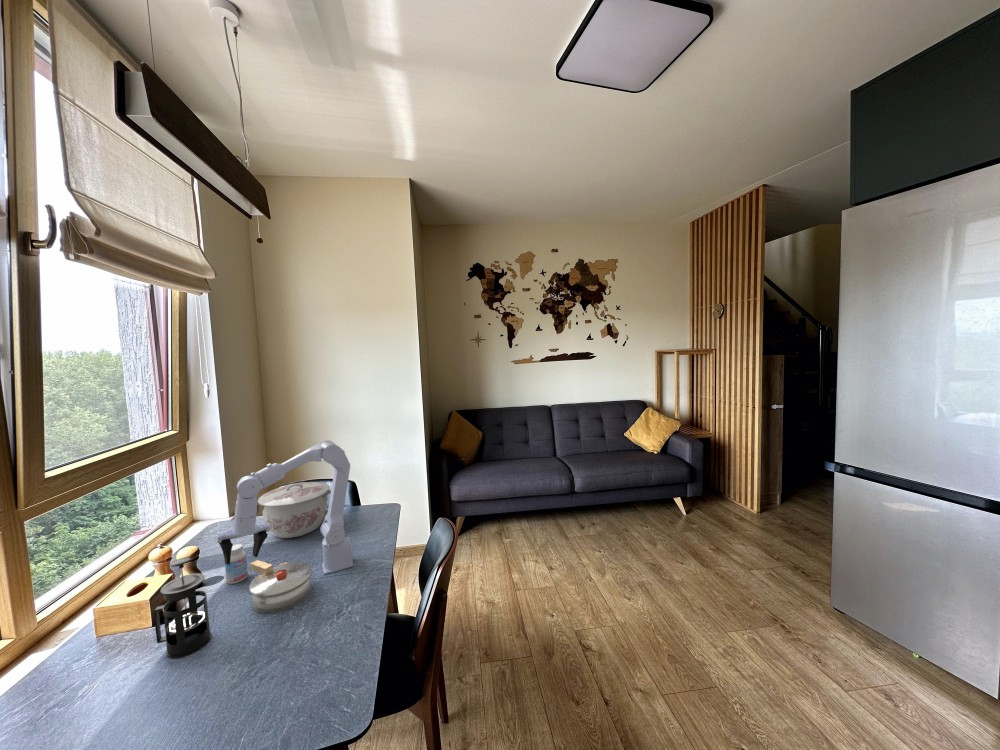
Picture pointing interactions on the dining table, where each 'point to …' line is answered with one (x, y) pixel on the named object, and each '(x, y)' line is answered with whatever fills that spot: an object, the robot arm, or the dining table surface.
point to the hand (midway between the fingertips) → (241, 559)
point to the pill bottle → (236, 565)
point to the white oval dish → (282, 599)
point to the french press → (183, 614)
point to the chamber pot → (295, 508)
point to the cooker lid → (278, 578)
